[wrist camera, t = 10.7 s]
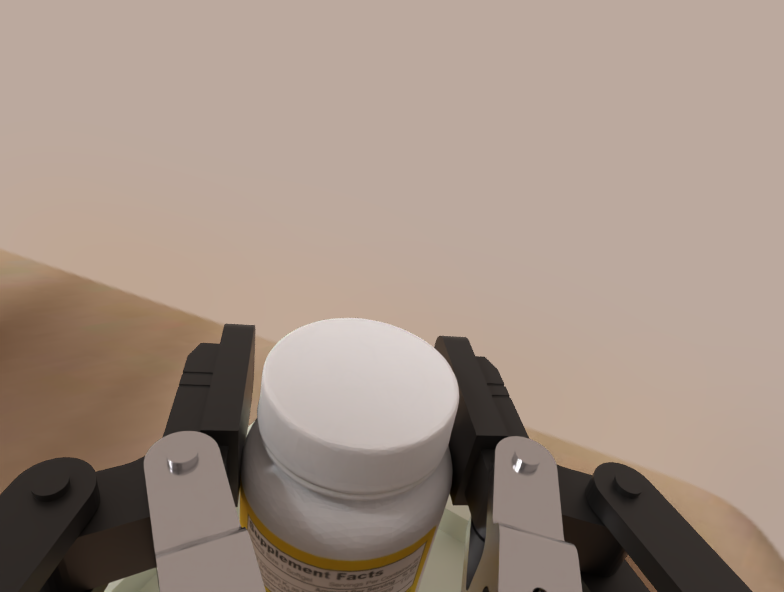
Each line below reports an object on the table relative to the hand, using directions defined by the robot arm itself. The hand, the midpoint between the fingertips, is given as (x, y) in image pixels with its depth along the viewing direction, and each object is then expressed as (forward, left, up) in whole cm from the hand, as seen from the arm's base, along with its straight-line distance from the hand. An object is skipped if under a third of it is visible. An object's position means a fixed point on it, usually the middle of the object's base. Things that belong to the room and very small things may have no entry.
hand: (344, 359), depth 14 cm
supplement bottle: (+2, -2, -7) cm, 7 cm away
